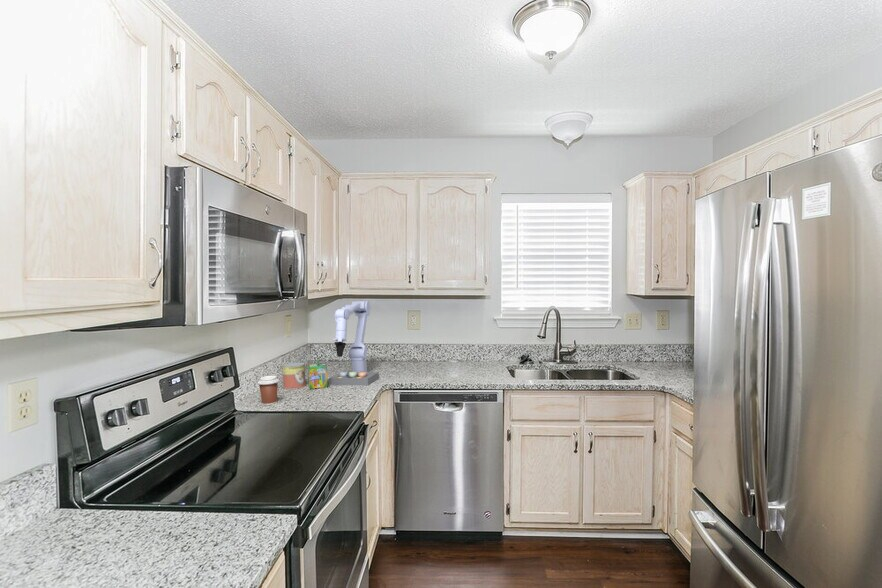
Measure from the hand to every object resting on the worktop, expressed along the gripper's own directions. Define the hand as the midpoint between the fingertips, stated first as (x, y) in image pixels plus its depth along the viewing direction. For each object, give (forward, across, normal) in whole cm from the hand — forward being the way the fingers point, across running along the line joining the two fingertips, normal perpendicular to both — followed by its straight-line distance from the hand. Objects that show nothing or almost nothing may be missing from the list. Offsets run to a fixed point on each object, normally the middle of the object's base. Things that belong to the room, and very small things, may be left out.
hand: (339, 356), depth 235 cm
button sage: (+11, -4, +8) cm, 14 cm away
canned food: (+17, -4, -22) cm, 28 cm away
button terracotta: (+11, -2, +13) cm, 17 cm away
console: (+13, -6, +8) cm, 17 cm away
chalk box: (+16, 0, -10) cm, 19 cm away
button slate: (+11, -6, +2) cm, 13 cm away
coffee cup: (+23, +26, -29) cm, 45 cm away
